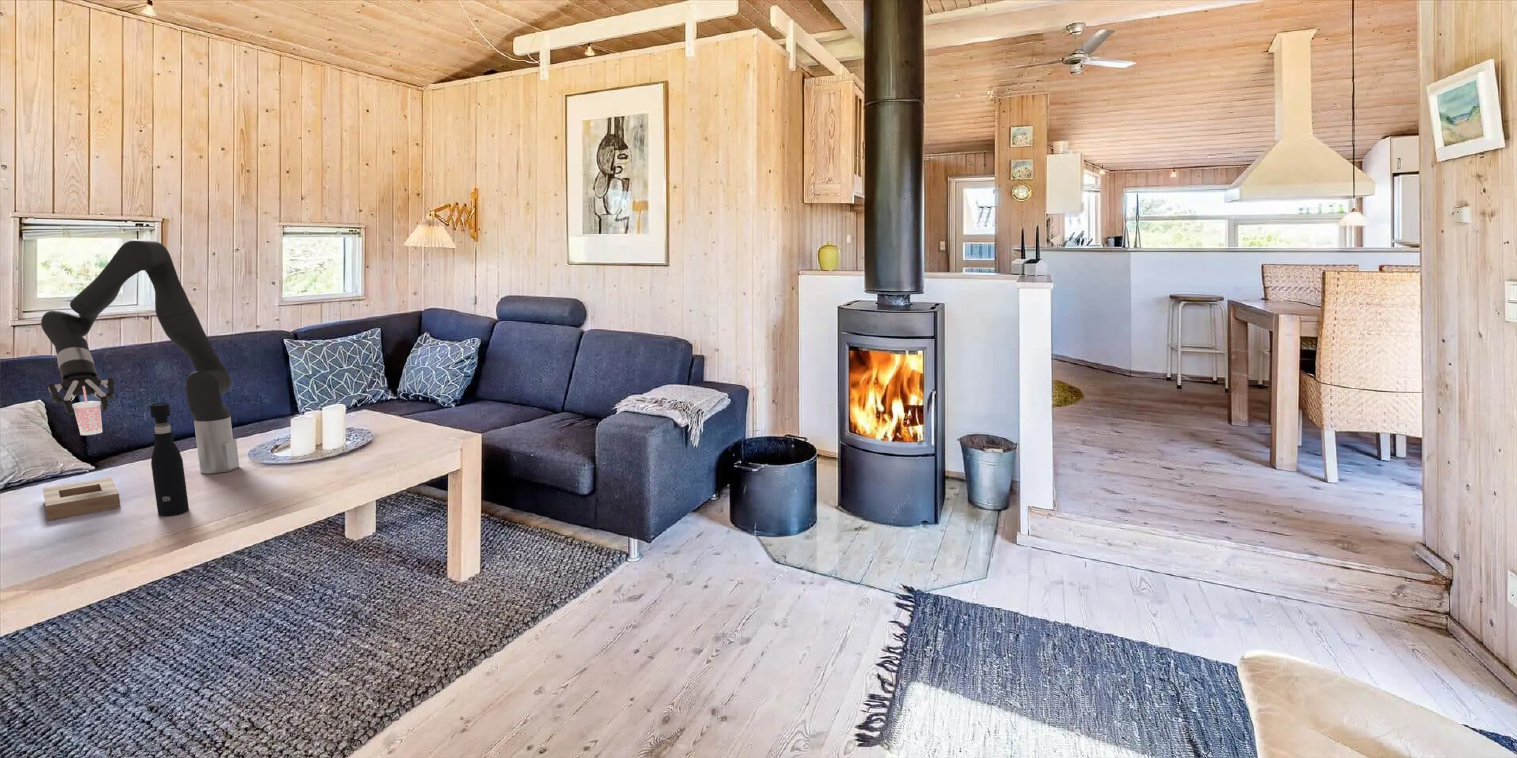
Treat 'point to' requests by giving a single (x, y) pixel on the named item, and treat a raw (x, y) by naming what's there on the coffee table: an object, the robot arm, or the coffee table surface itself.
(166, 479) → the black water bottle
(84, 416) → the beverage cup
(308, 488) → the coffee table surface
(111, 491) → the wooden cup holder
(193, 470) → the coffee table surface
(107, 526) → the coffee table surface
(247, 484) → the coffee table surface
